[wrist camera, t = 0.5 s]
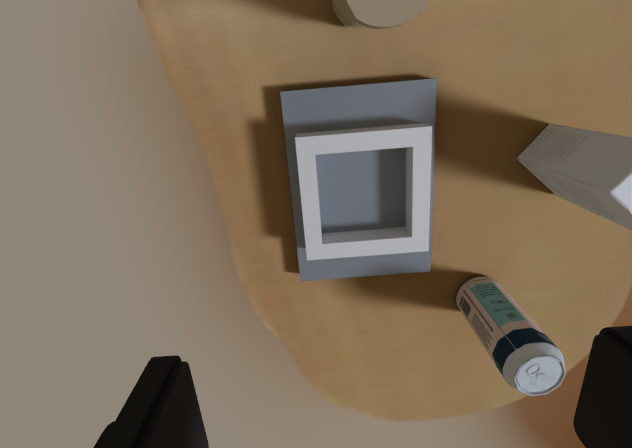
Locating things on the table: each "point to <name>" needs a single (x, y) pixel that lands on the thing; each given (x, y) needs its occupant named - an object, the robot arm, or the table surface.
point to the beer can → (511, 337)
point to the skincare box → (585, 169)
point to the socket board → (361, 177)
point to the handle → (377, 12)
